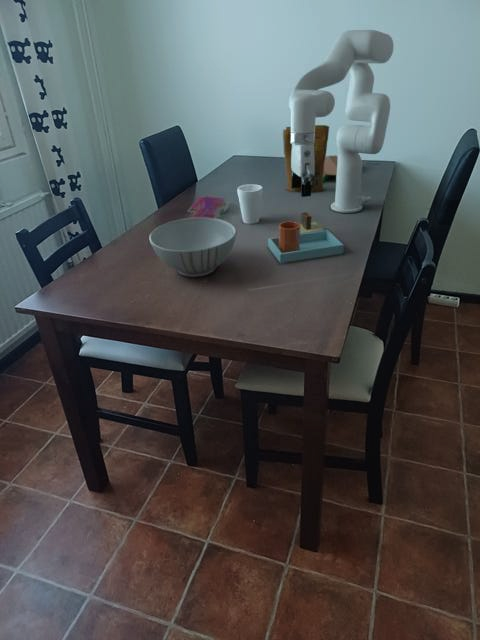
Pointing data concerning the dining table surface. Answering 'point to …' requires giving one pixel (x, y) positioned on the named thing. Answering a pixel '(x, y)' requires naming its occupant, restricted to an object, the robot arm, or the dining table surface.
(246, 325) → the dining table surface
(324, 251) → the blue tray
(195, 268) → the decorative bowl
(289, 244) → the cup
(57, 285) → the dining table surface
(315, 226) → the switch panel
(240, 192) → the foam cup
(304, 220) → the brown switch lever
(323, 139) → the pancake mix bag
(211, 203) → the pink plastic packet
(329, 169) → the house
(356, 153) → the robot arm
